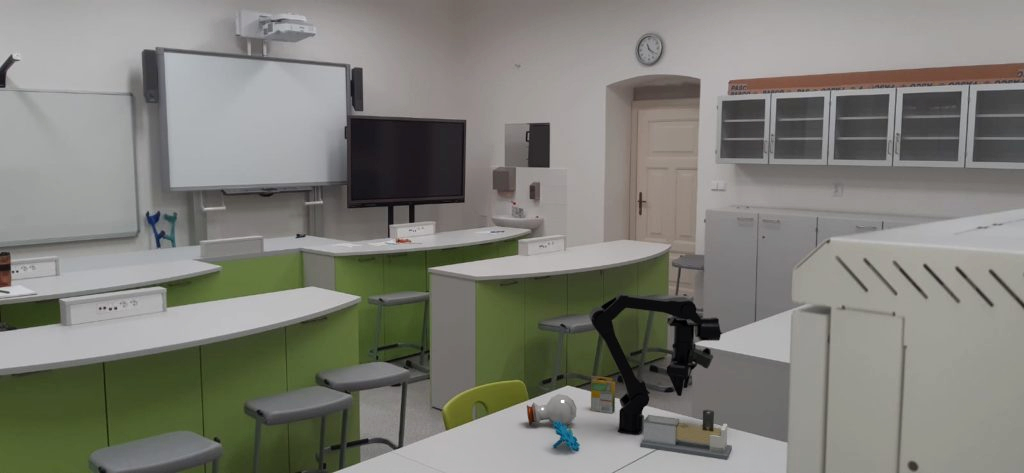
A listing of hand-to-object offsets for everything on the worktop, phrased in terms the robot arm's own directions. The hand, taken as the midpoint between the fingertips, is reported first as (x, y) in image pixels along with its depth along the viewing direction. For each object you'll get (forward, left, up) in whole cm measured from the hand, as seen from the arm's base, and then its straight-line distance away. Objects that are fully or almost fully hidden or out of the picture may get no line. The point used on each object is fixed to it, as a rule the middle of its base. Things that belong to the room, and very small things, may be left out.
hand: (682, 391), depth 237 cm
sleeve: (-3, -14, -12) cm, 19 cm away
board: (+4, -14, -12) cm, 19 cm away
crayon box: (-27, +9, -12) cm, 31 cm away
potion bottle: (-37, -11, -12) cm, 41 cm away
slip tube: (+6, -14, -9) cm, 18 cm away
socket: (+13, -14, -12) cm, 23 cm away
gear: (-27, -28, -12) cm, 41 cm away
